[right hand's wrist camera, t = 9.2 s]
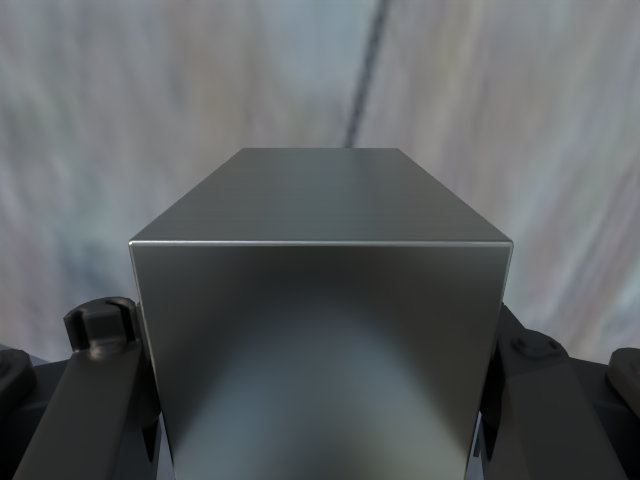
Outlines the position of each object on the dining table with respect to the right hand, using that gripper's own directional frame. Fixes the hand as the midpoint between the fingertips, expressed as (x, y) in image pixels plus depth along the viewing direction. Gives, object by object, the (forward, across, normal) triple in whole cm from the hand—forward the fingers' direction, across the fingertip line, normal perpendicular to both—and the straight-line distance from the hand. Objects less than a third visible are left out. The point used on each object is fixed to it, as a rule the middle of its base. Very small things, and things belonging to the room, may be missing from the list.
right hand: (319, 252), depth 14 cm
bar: (+1, 0, -9) cm, 9 cm away
